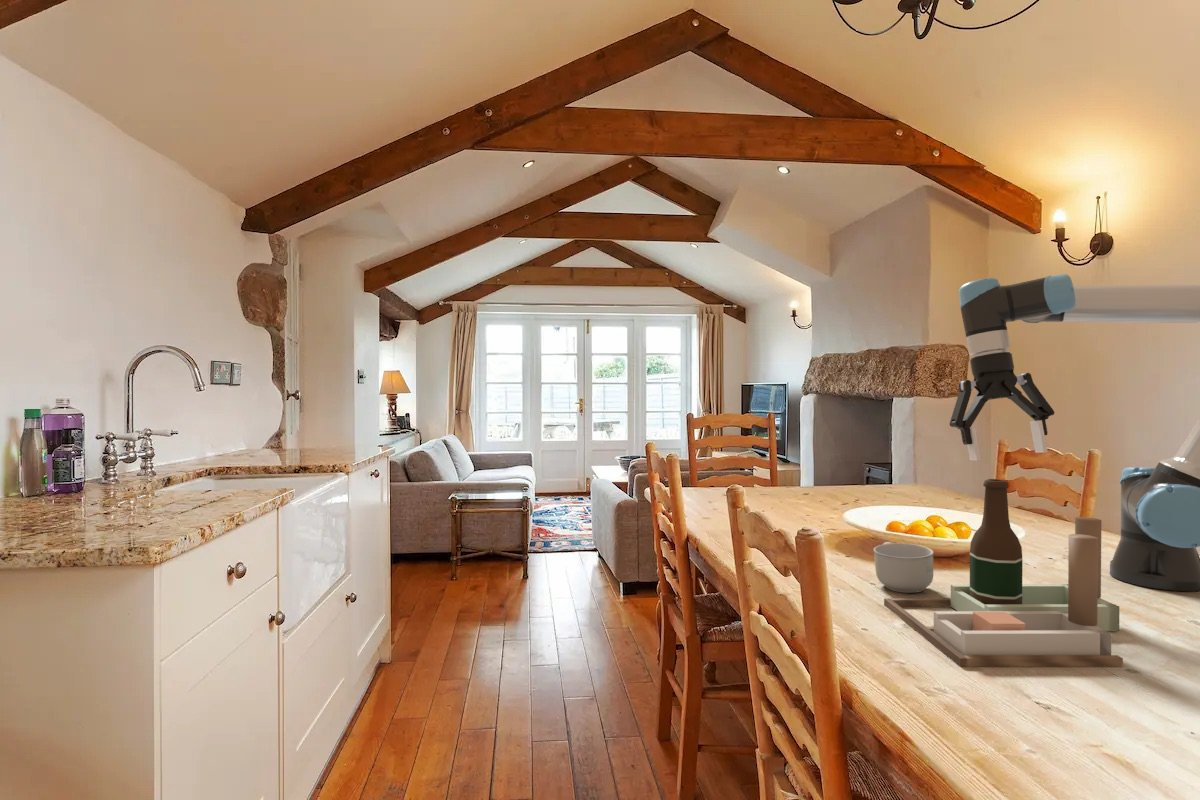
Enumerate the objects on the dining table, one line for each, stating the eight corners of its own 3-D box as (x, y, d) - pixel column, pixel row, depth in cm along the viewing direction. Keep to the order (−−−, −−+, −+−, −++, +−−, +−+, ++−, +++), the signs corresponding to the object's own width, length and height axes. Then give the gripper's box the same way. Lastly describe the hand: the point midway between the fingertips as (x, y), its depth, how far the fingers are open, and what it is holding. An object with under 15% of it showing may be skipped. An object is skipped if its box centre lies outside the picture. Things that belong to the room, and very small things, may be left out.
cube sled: (1072, 635, 104) (1073, 529, 104) (1118, 660, 95) (1119, 544, 95) (933, 636, 105) (933, 530, 104) (965, 660, 95) (965, 545, 95)
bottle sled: (1073, 606, 118) (1074, 512, 118) (1125, 631, 106) (1126, 526, 106) (950, 606, 119) (950, 513, 118) (988, 631, 107) (988, 527, 106)
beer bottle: (959, 612, 116) (959, 478, 115) (994, 608, 118) (995, 476, 117) (996, 628, 108) (996, 484, 108) (1033, 623, 110) (1034, 482, 110)
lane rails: (1010, 604, 120) (1010, 598, 120) (1122, 666, 93) (1122, 658, 93) (884, 604, 120) (884, 598, 120) (960, 666, 94) (960, 658, 94)
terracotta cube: (1005, 643, 102) (1005, 611, 102) (1024, 656, 97) (1025, 623, 97) (972, 643, 103) (972, 611, 102) (990, 656, 98) (990, 623, 97)
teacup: (941, 598, 124) (941, 556, 123) (879, 595, 126) (879, 554, 126) (920, 577, 137) (920, 539, 137) (865, 574, 139) (865, 537, 139)
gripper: (1037, 350, 139) (1056, 449, 137) (921, 364, 139) (938, 463, 137) (1062, 343, 132) (1082, 448, 130) (939, 358, 132) (957, 463, 130)
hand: (1008, 456), depth 133 cm, fingers open, 13 cm apart
